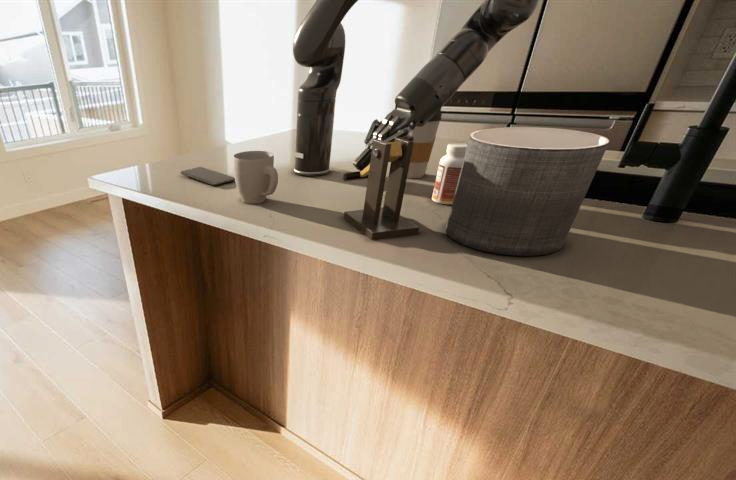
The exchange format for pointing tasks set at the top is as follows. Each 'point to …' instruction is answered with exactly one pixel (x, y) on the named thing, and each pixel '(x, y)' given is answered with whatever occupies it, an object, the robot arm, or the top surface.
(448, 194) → the pill bottle
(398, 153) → the lever
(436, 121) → the coffee cup
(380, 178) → the lever stand
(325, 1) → the robot arm
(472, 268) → the top surface
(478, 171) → the planter
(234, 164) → the mug
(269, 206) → the top surface
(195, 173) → the smartphone
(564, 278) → the top surface
